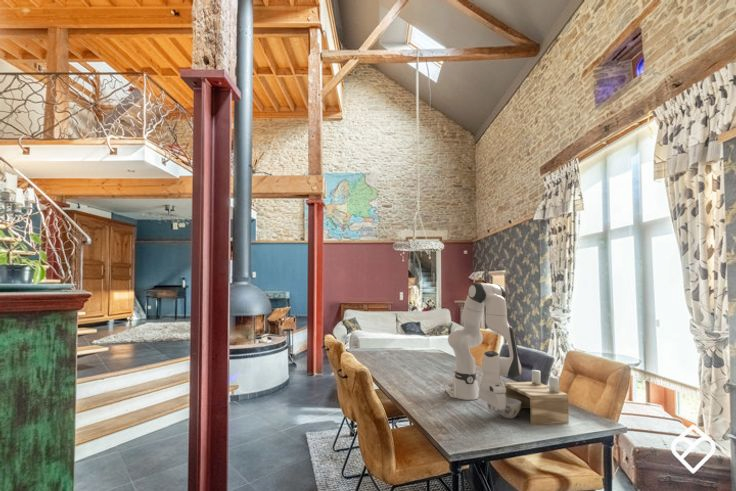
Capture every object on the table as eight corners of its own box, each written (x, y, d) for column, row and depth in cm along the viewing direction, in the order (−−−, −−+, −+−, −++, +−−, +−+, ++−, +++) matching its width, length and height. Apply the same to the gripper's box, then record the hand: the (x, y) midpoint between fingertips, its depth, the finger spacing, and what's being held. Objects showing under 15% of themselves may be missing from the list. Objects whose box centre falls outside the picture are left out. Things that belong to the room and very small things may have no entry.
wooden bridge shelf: (504, 408, 206) (504, 382, 207) (537, 406, 210) (536, 381, 211) (532, 424, 182) (532, 395, 184) (568, 422, 187) (568, 394, 188)
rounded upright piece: (530, 383, 207) (529, 369, 208) (537, 382, 208) (537, 369, 209) (535, 385, 203) (535, 371, 204) (542, 385, 204) (542, 371, 204)
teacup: (513, 412, 200) (513, 396, 201) (526, 420, 187) (526, 404, 188) (486, 412, 198) (486, 396, 199) (497, 421, 186) (497, 404, 186)
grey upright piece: (547, 390, 194) (547, 376, 194) (554, 390, 194) (554, 376, 195) (553, 393, 189) (552, 378, 190) (560, 392, 190) (560, 378, 191)
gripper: (475, 379, 202) (475, 406, 201) (496, 390, 182) (496, 420, 181) (486, 379, 203) (486, 406, 202) (508, 390, 183) (508, 420, 182)
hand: (491, 413), depth 191 cm, fingers closed
